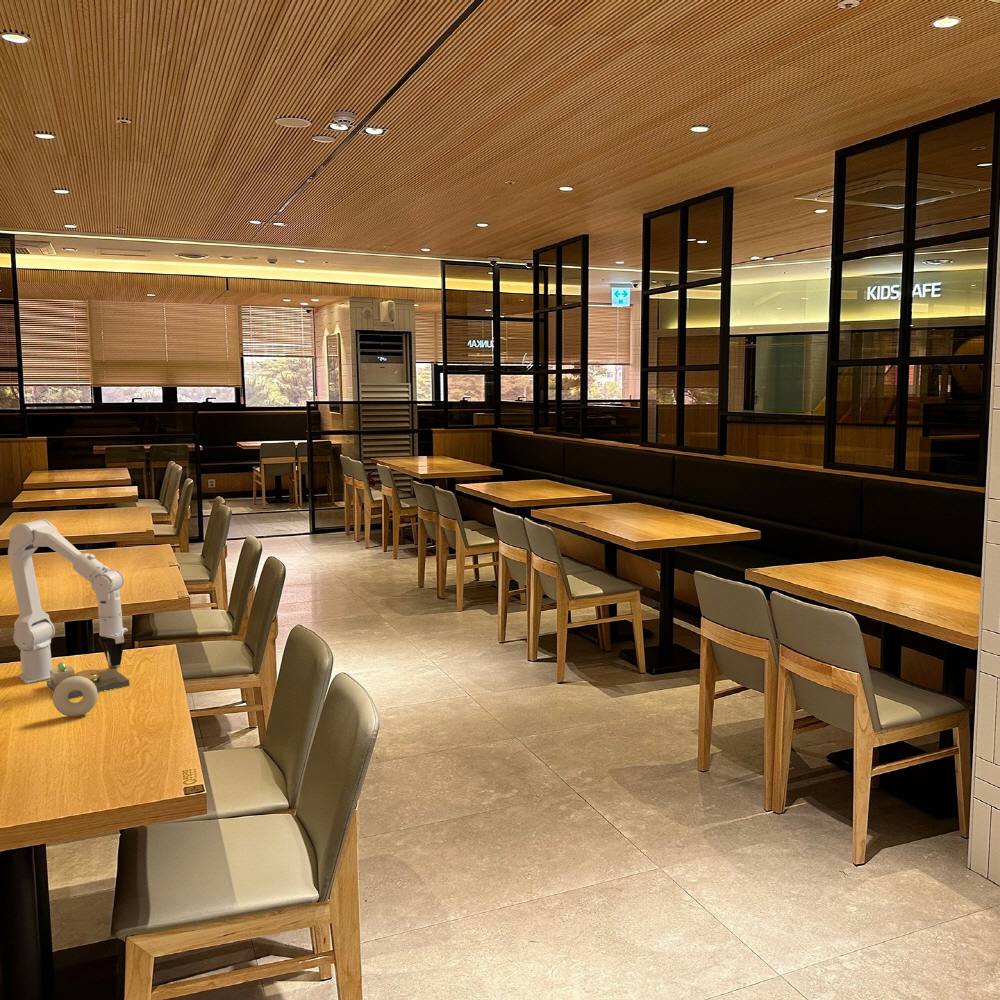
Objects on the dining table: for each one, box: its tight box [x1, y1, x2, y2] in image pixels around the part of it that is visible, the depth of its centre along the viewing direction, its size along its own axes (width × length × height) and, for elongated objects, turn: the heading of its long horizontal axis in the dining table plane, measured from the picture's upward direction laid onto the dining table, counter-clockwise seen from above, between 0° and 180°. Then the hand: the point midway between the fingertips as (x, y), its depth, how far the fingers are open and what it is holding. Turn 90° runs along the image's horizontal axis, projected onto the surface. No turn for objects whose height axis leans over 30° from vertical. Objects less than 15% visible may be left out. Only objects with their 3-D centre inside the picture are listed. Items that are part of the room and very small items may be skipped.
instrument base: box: [46, 662, 130, 699], centre depth 240 cm, size 15×17×6 cm
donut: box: [52, 676, 99, 718], centre depth 217 cm, size 10×4×10 cm, turn 113°
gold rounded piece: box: [75, 651, 121, 682], centre depth 241 cm, size 12×6×7 cm, turn 129°
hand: (114, 663), depth 244 cm, fingers closed on gold rounded piece, 3 cm apart
